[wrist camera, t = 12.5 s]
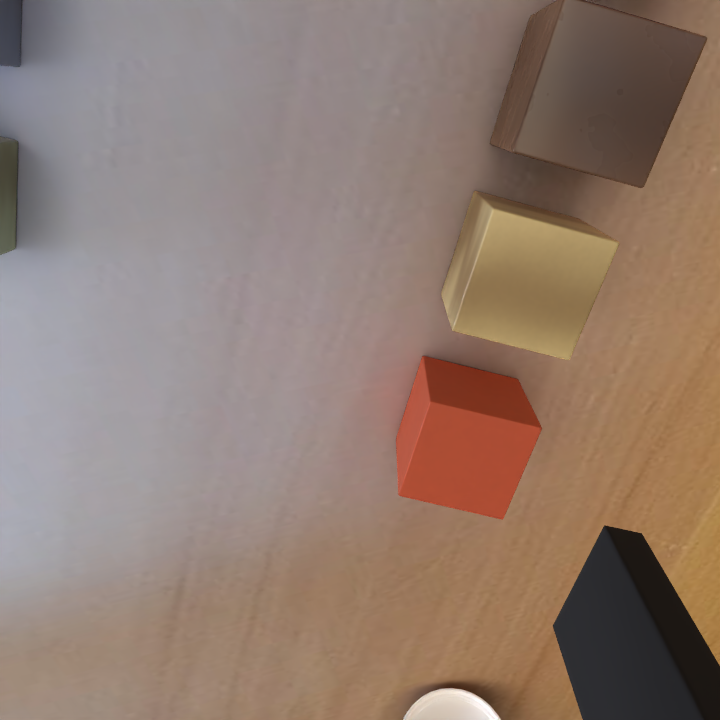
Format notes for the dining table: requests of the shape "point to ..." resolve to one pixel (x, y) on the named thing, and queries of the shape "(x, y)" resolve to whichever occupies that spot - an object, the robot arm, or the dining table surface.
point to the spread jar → (451, 706)
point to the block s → (464, 438)
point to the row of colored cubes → (571, 150)
